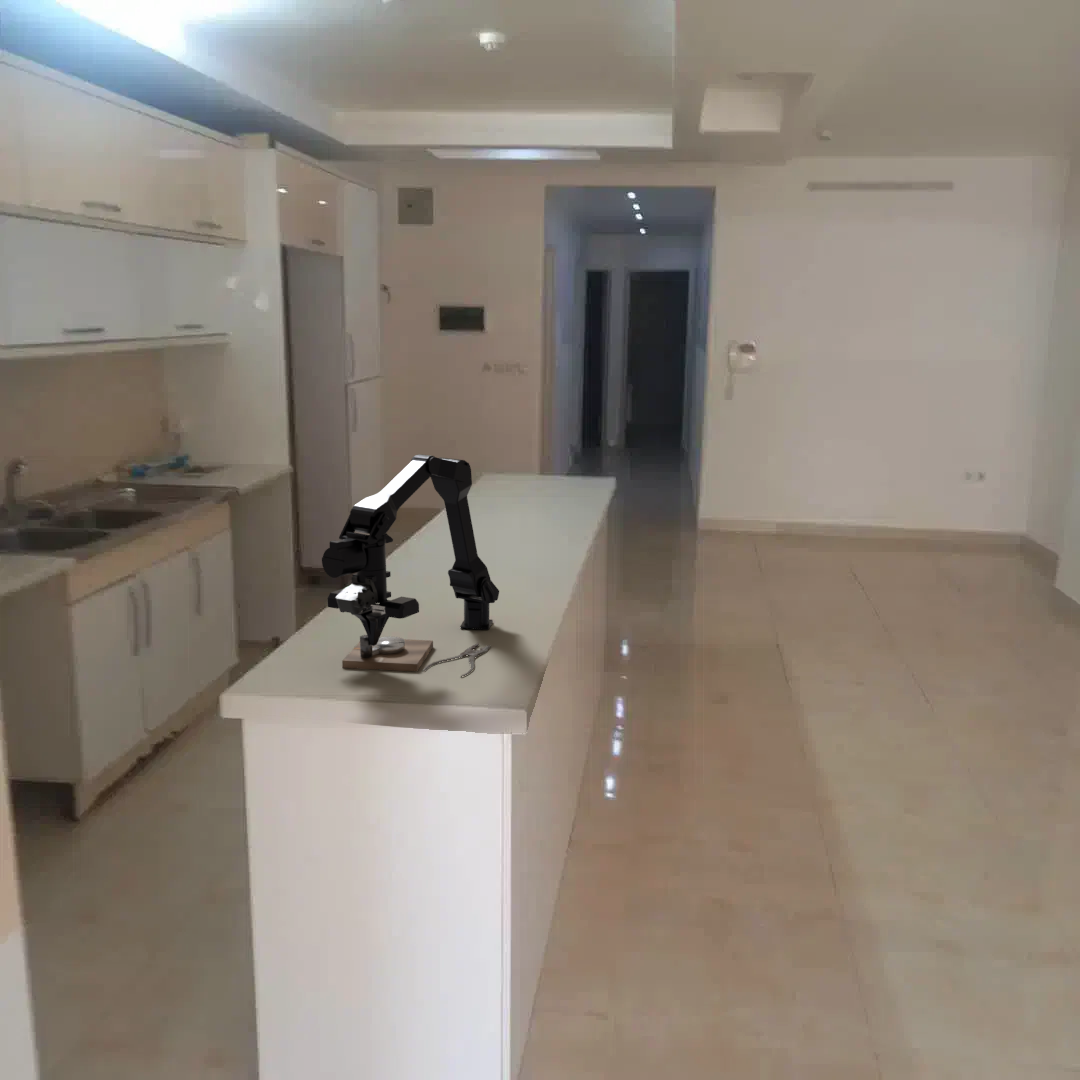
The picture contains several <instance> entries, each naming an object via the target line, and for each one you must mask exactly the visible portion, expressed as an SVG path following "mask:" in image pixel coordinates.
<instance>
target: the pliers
mask: <svg viewBox="0 0 1080 1080" xmlns="http://www.w3.org/2000/svg"><path fill="white" fill-rule="evenodd" d="M478 645H480V644H479V642H476V643H475V644H473V645H472V646H469V647H467V648H466V649H465V650H463V652H461V653H460V654H458V655H454V656H452V657H447V658H444V659H439V660H436V661H433V662H431V663H429V664H428V665H425V667H424V668H423V669H422V672H423V671H425V670H426V671H427V670H428V669H430V668H431V667H430V666H432V665H434V666H436V665H438V664H437V663H439V662H442V661H447V660H451V659H455V658H459V657H460V658H461V657H464V656H466V655H468V656H469V657H468V663H469V662H470V663H469V665H470V664H471V667H470V668H471V669H470V668H469V670H468V671H467V672H465V673H464V674H461V675H460V676H461V677H462V676H465V675H467V674H469V673H470V672H471V671H472V670H473V669H474V668H475V669H476V666H475V665H476V664H474V663H475V660H476V658H475V657H477V656H478V655H480V654H482V655H483V653H484V654H486V653H488V651H489V650H490V649H491V644H487V645H485V646H484V647H481V648H480V650H478V649H477V648H478V647H479V646H478ZM476 647H477V648H476ZM473 649H477V650H473ZM488 649H489V650H488ZM485 652H486V653H485ZM480 656H481V655H480ZM478 657H479V656H478ZM478 657H477V658H478ZM464 658H465V657H464ZM461 659H462V658H461ZM474 659H475V660H474ZM435 664H436V665H435ZM429 667H430V668H429ZM432 667H433V666H432ZM475 669H474V670H475ZM426 671H425V672H426ZM469 675H470V674H469ZM467 676H468V675H467ZM465 677H466V676H465Z"/></svg>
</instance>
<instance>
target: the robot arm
mask: <svg viewBox="0 0 1080 1080" xmlns="http://www.w3.org/2000/svg"><path fill="white" fill-rule="evenodd" d="M428 479H431V483H432V486H433V488H434V490H435V492H437V494H438V495H439V496H440V498H441V499H442V500H443V502H444V507H445V513H446V517H447V522H448V529H449V534H450V538H451V543H452V548H453V549H452V550H453V555H454V559H455V560H454V563H453V565H452V567H451V568H449V569H448V571H447V574H448V577H449V586H450V587H452V590H453V593H454V595H455V596H454V597H455V599H461V600H463V621H462V623H461V624H460V627H461V628H474V629H473V630H483V631H484V630H487V631H488V630H490V628H491V626H492V625H491V624H493V623H492V622H494V619H490V604H494V603H496V601H498V599H499V594H500V590H499V588H498V587H497V586H496V585H495V584H494V582H493V581H492V579H491V577H490V576H491V575H490V573H489V569H488V567H487V565H486V564H485V563H484V562H483V560H482V559H481V558H480V557H479V554H478V550H477V545H476V544H477V543H476V539H475V534H474V529H473V528H474V527H473V522H472V516H471V512H470V505H469V500H468V494H469V492H470V490H471V488H472V486H473V481H472V480H473V479H472V468H471V465H470V463H469V462H467V461H466V460H465V459H459V458H458V459H457V458H448V457H436V456H435V455H430V454H429V455H428V454H416V455H413V456H412V457H411V460H410V462H409V463H408V464H407V465H405V467H404V468H403V469H402V470H401V471H400V472H399V473H398V474H397V475H396V476H394V478H393V479H392V480H391V481H389V482H388V484H387V485H385V486H384V487H383V488H382V489H381V490H380V491H378V492H377V493H375V494H372V495H370V496H366V497H364V498H363V499H362V500H360V501H358V502H357V503H356V504H354V505H353V506H352V508H351V509H350V511H349V516H348V518H347V520H346V522H345V524H344V526H343V528H342V530H341V531H340V534H339V537H338V540H331V541H329V547H328V548H326V549H325V550H324V552H323V555H322V557H321V566H322V568H323V570H324V572H325V574H326V575H327V576H329V577H330V578H332V579H333V578H334V579H337V578H340V577H344V576H348V575H352V577H351V584H350V585H348V586H346V587H344V588H341V589H338V590H333V591H331V592H329V594H328V595H327V597H326V602H327V605H326V606H327V608H332V609H336V610H337V609H338V610H339V612H340V613H349V614H351V616H355V618H357V619H358V620H360V622H361V624H362V627H363V628H364V631H365V633H366V635H367V636H368V638H369V641H370V643H371V645H372V646H375V645H376V644H377V642H378V640H379V638H380V637H381V635H382V633H383V630H384V628H385V627H386V624H387V623H388V620H389V618H391V619H392V618H393V619H405V618H408V617H411V616H412V615H416V614H418V613H419V612H420V603H419V601H418V600H417V599H416V598H414V597H407V596H400V597H396V598H393V599H391V600H389V599H388V598H391V597H392V592H391V591H388V589H387V588H388V586H387V585H388V583H387V581H388V580H387V578H390V577H391V575H392V574H391V571H389V570H387V553H386V549H387V548H386V544H390V543H393V542H394V538H392V537H391V536H390V535H389V534H388V531H389V530H390V529H391V527H392V526H393V524H394V523H395V522H396V520H397V514H398V511H399V509H400V508H401V507H402V506H404V504H405V503H406V502H408V500H409V499H410V498H411V497H412V496H413V495H414V494H415V493H416V492H417V491H418V489H420V488H421V487H422V486H423V485H424V484H425V483H426V482H427V480H428ZM460 627H459V628H460ZM461 628H460V629H461Z"/></svg>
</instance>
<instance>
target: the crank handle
mask: <svg viewBox="0 0 1080 1080" xmlns="http://www.w3.org/2000/svg"><path fill="white" fill-rule="evenodd" d="M359 641H360V657H362V658H370V657H372V656H373V655H375V654H378V653H381V654H394V653H399V652H402V651H403V650H404V649H405V640H404V638H402V637H400V636H390V635H389V636H382V637H381V636H380V638H379V640H378V642H377V644H376V645H375V646H373V648H372V645H371V643H370V641H369V638H368V636H367V634H363V635H360V636H359Z"/></svg>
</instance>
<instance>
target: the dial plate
mask: <svg viewBox="0 0 1080 1080" xmlns="http://www.w3.org/2000/svg"><path fill="white" fill-rule="evenodd" d="M403 639H404V638H403ZM404 640H405V649H404V650H403V651H402V652H399V653H394V654H381V653H378V654H375V655H373V656H372V657H370V658H362V657H360V640H359V641H358V642H357V644H356V645H355V646H354V647H353V648H352V649H351V650H350V652H348V653H347V654H346V656H344V658H343V659H342V660H341V661H342V665H341V666H342V669H358V670H359V668H360V669H361V670H362V669H363V670H378V669H383V670H382V671H402V672H418V670H419V669H420V668H421V666H422V665H423V663H424V662H425V660H426V659H427V657H428V656H427V655H429V654H430V653H431V651H432V650H433V649H434V641H433V640H431V639H430V640H427V639H406V638H405V639H404ZM372 648H373V646H372ZM431 649H432V650H431ZM429 652H430V653H429ZM425 658H426V659H425ZM423 661H424V662H423Z"/></svg>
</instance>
